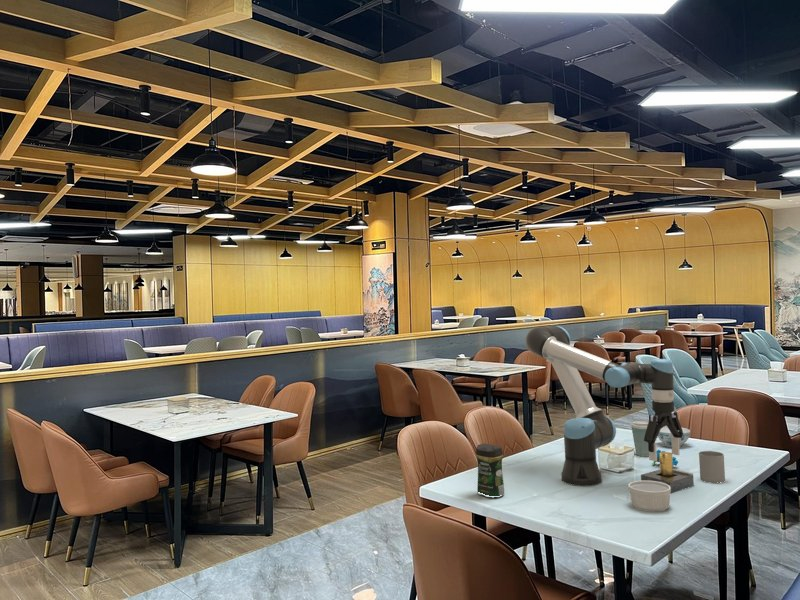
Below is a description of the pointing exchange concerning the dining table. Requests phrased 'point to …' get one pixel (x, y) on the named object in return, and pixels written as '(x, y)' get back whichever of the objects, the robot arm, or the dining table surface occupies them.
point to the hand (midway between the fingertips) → (664, 457)
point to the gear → (659, 459)
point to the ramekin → (650, 495)
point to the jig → (671, 479)
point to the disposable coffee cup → (640, 438)
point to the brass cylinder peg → (666, 464)
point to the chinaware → (666, 436)
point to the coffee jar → (490, 470)
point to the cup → (712, 466)
